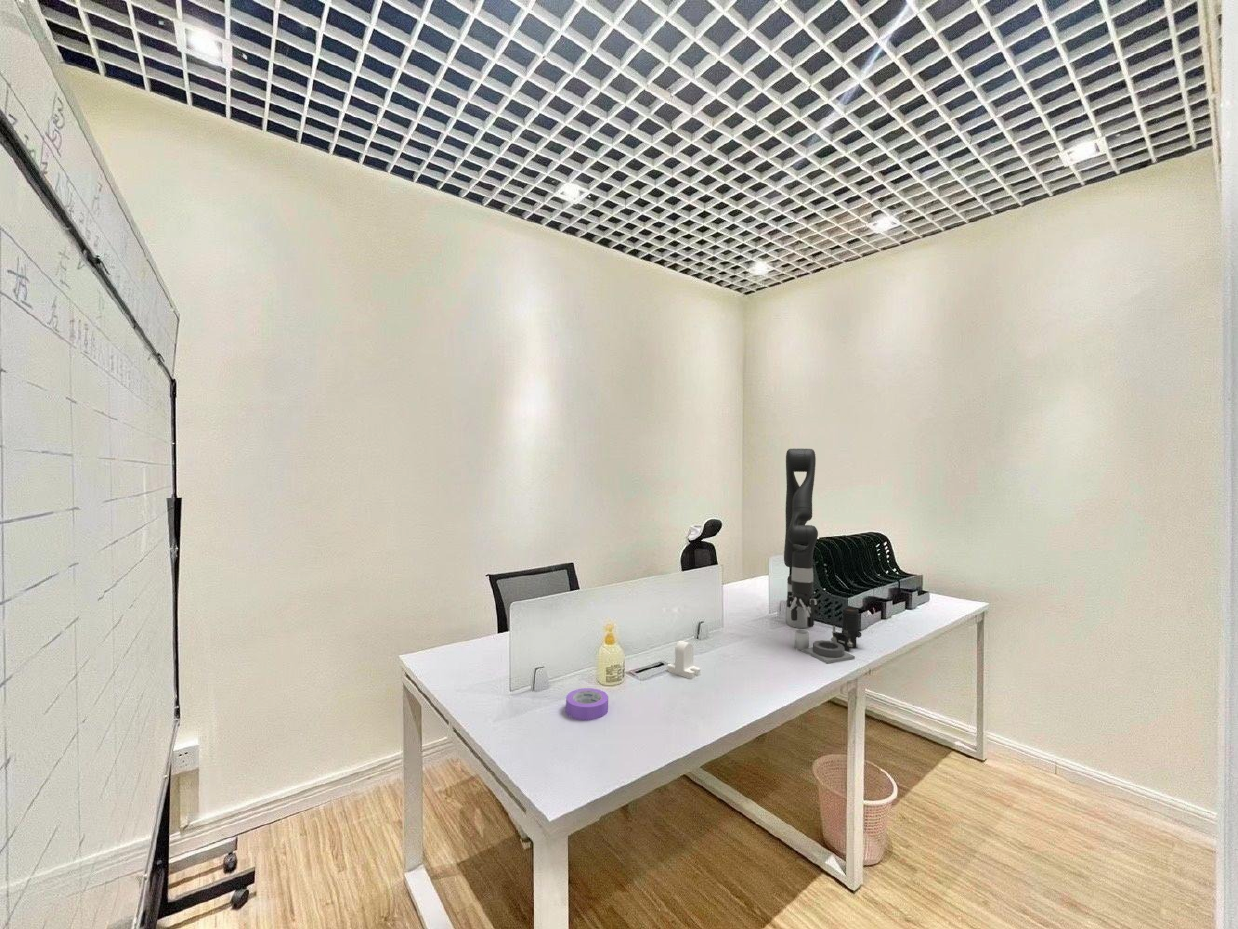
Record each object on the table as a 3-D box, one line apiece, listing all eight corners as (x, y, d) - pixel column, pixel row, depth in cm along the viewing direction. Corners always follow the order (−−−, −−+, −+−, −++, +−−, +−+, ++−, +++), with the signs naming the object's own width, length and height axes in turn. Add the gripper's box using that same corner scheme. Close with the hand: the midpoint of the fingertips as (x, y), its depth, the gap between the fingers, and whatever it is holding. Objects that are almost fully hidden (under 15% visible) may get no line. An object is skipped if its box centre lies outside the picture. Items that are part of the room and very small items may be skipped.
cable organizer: (691, 679, 165) (691, 648, 165) (666, 670, 171) (666, 640, 171) (701, 674, 169) (701, 643, 168) (676, 666, 175) (676, 636, 175)
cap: (792, 646, 193) (792, 630, 193) (802, 645, 195) (802, 628, 195) (801, 651, 189) (801, 634, 189) (811, 649, 191) (811, 632, 191)
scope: (830, 609, 194) (845, 604, 200) (830, 646, 194) (845, 640, 200) (851, 614, 187) (866, 609, 193) (851, 653, 187) (866, 647, 193)
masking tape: (597, 697, 153) (597, 684, 152) (615, 715, 142) (615, 701, 142) (559, 706, 147) (559, 692, 147) (575, 725, 137) (575, 710, 137)
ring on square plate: (803, 651, 188) (803, 641, 188) (829, 647, 193) (829, 637, 193) (827, 663, 177) (827, 653, 177) (854, 659, 182) (854, 649, 182)
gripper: (781, 576, 197) (781, 619, 197) (807, 584, 184) (807, 630, 184) (797, 574, 200) (797, 617, 200) (824, 582, 186) (824, 628, 186)
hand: (802, 623), depth 192 cm, fingers open, 8 cm apart
